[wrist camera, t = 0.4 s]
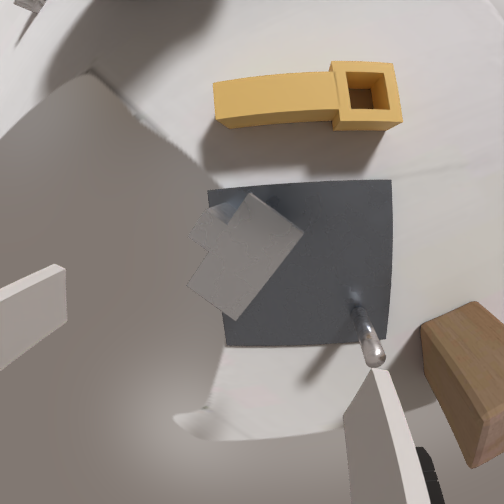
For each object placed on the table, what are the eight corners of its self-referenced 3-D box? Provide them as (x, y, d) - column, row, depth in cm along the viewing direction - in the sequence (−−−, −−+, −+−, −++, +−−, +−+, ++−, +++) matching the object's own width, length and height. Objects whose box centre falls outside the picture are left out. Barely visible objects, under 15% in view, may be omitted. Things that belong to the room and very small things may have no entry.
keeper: (302, 217, 34) (303, 233, 24) (252, 283, 36) (235, 321, 27) (245, 176, 33) (223, 176, 24) (199, 244, 36) (164, 269, 26)
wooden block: (476, 350, 34) (537, 432, 15) (422, 375, 36) (468, 474, 17) (475, 296, 32) (558, 371, 13) (417, 322, 34) (482, 423, 15)
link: (378, 80, 28) (392, 63, 22) (385, 130, 29) (402, 122, 24) (225, 88, 31) (212, 72, 25) (230, 138, 32) (216, 131, 27)
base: (209, 190, 34) (172, 196, 24) (388, 179, 31) (427, 181, 20) (228, 341, 39) (206, 392, 28) (383, 335, 35) (407, 385, 25)
